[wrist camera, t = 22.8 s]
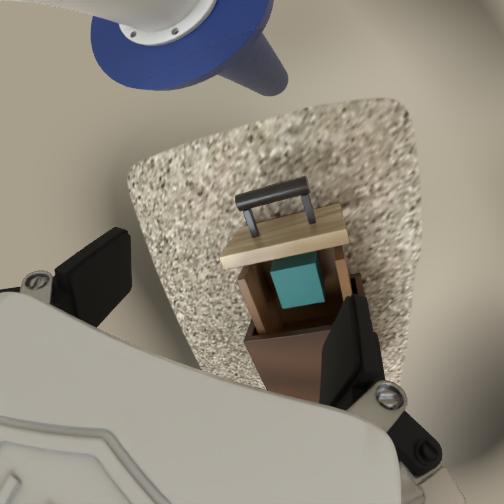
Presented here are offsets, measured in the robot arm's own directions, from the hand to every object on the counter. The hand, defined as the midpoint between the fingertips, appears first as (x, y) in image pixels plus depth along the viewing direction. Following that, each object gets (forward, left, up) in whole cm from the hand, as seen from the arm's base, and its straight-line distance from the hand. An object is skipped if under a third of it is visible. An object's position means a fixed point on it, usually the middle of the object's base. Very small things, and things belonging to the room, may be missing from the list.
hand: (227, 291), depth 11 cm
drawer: (+7, 0, -17) cm, 18 cm away
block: (+8, 0, -16) cm, 18 cm away
